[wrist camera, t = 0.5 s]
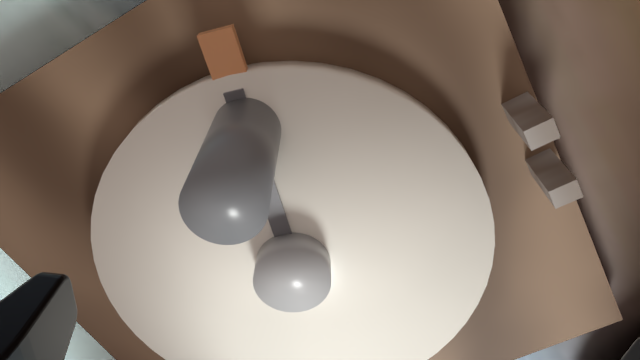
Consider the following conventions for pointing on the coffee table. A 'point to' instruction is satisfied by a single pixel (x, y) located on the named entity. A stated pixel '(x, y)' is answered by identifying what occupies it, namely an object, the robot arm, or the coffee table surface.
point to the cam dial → (291, 218)
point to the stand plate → (335, 49)
